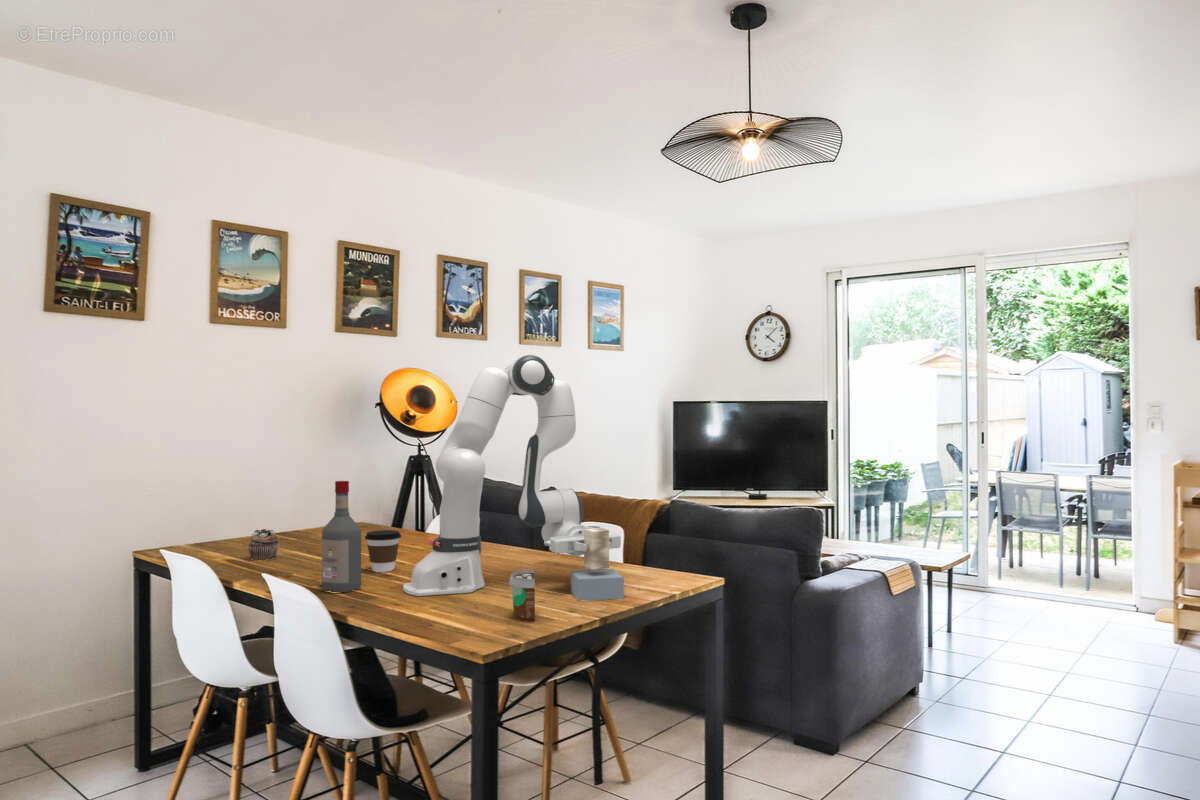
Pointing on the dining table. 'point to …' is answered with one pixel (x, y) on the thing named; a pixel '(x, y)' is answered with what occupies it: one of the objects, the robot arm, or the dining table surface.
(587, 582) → the slate block
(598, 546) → the birch block
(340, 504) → the liquor
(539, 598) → the dining table surface
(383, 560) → the coffee cup
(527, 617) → the food container
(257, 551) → the cupcake
